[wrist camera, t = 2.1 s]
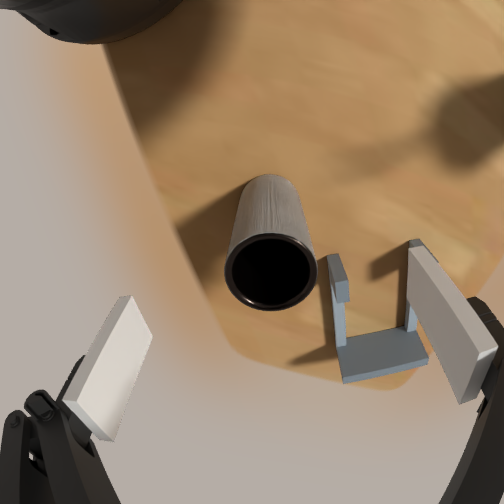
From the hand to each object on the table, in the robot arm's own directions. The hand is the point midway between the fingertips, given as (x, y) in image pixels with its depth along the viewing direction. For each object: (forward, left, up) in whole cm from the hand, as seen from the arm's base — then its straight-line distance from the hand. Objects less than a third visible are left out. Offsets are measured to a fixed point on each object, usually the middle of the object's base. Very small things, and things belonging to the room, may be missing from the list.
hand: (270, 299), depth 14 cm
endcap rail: (+11, +8, -12) cm, 18 cm away
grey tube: (0, 0, -12) cm, 12 cm away
